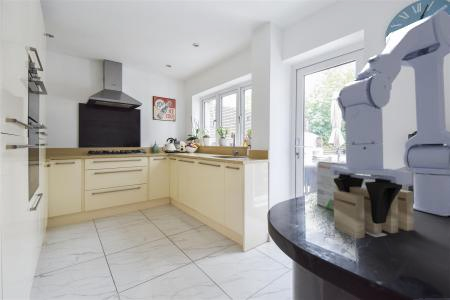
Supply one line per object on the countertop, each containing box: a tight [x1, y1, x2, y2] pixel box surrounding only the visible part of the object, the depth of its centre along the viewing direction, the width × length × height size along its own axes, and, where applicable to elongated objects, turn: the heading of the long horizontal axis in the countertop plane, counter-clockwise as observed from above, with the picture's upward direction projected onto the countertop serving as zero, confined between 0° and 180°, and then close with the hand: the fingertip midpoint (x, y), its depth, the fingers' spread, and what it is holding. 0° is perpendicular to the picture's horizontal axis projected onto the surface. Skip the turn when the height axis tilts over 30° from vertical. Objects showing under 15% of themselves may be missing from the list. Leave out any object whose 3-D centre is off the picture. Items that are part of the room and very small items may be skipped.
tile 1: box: [397, 189, 415, 232], centre depth 40 cm, size 2×5×7 cm, turn 15°
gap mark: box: [365, 229, 387, 238], centre depth 38 cm, size 3×6×1 cm, turn 15°
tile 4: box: [333, 191, 366, 240], centre depth 37 cm, size 2×5×7 cm, turn 15°
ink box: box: [316, 161, 346, 212], centre depth 54 cm, size 9×5×12 cm, turn 9°
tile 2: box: [382, 195, 399, 234], centre depth 39 cm, size 2×5×7 cm, turn 15°
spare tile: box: [350, 187, 383, 233], centre depth 38 cm, size 2×5×7 cm, turn 15°
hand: (364, 217), depth 38 cm, fingers closed on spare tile, 5 cm apart
